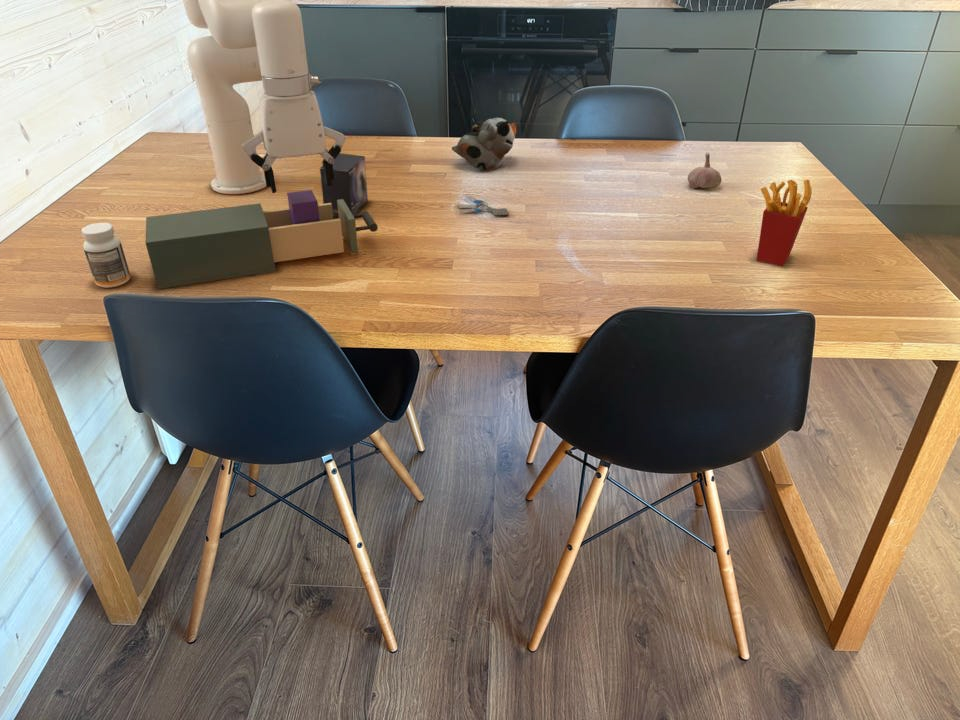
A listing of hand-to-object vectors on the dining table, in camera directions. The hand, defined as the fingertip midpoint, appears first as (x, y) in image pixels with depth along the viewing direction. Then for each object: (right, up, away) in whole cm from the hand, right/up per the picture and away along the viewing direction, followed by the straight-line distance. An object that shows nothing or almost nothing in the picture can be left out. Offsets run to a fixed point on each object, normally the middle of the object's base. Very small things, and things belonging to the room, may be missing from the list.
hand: (301, 187), depth 124 cm
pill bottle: (-32, -17, -3) cm, 36 cm away
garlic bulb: (+84, +10, +39) cm, 93 cm away
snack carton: (0, -9, +6) cm, 11 cm away
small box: (+3, +1, +26) cm, 26 cm away
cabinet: (-16, -14, +2) cm, 21 cm away
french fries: (+87, -11, +8) cm, 88 cm away
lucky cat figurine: (+33, +19, +52) cm, 64 cm away
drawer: (+1, -10, +7) cm, 12 cm away
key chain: (+31, +1, +26) cm, 40 cm away
